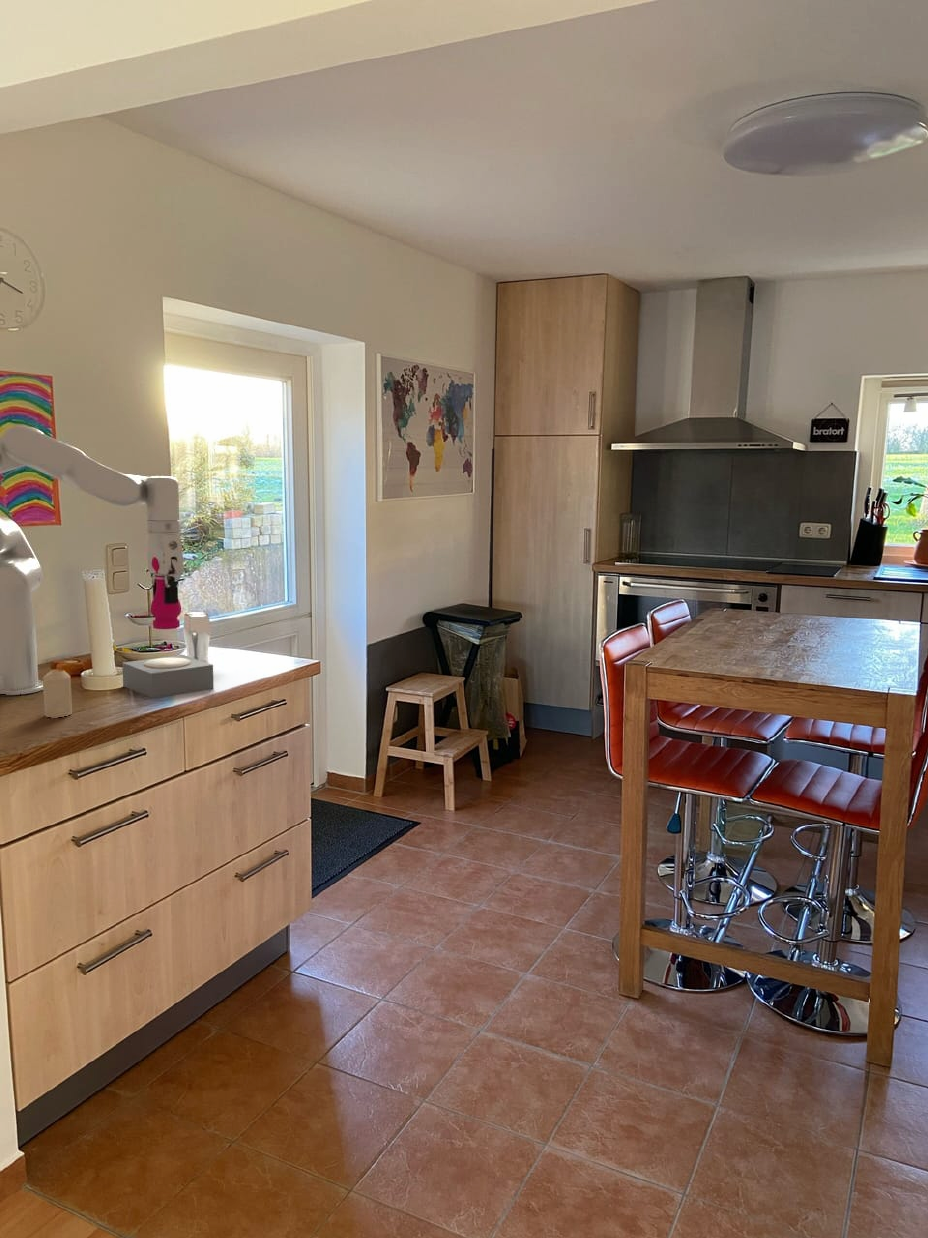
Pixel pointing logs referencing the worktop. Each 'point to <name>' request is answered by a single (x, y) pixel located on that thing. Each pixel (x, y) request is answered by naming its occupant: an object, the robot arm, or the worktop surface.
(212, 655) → the worktop surface
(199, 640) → the beer glass
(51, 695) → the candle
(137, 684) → the riser
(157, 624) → the pepper mill
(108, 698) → the worktop surface
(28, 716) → the worktop surface
